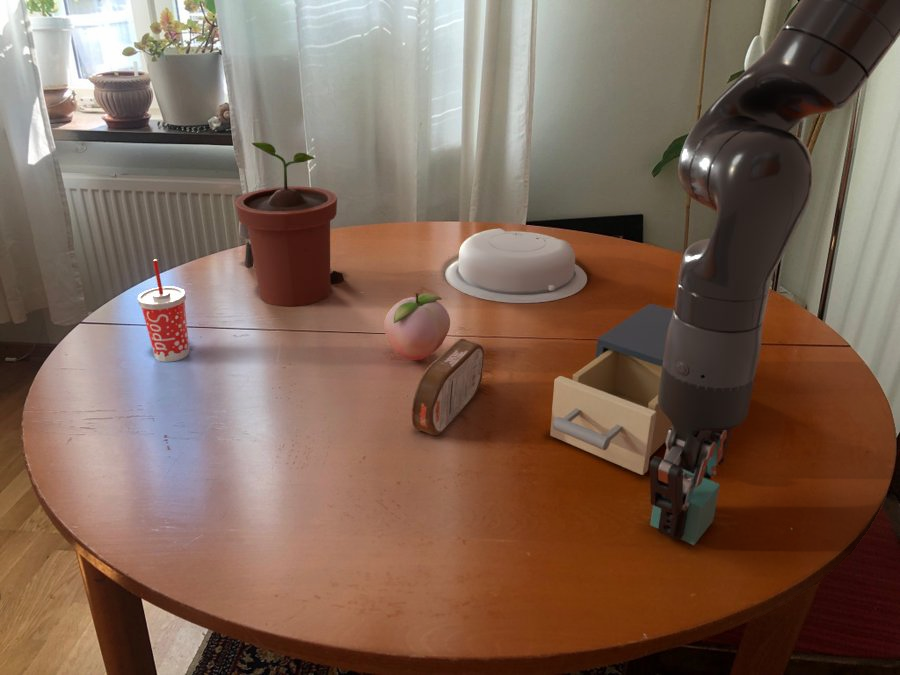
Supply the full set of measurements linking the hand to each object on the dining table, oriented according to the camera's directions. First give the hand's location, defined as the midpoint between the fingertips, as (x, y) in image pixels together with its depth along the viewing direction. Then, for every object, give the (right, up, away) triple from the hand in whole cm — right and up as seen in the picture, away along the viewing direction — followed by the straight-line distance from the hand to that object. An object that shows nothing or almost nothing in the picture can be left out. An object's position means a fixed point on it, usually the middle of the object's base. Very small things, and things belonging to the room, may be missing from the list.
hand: (682, 520), depth 70 cm
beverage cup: (-61, +15, +33) cm, 71 cm away
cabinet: (+5, +9, +23) cm, 25 cm away
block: (0, 0, 0) cm, 0 cm away
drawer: (-4, +6, +13) cm, 15 cm away
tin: (-22, +8, +19) cm, 30 cm away
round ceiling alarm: (-10, +28, +61) cm, 68 cm away
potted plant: (-49, +26, +56) cm, 79 cm away
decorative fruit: (-27, +14, +32) cm, 44 cm away
